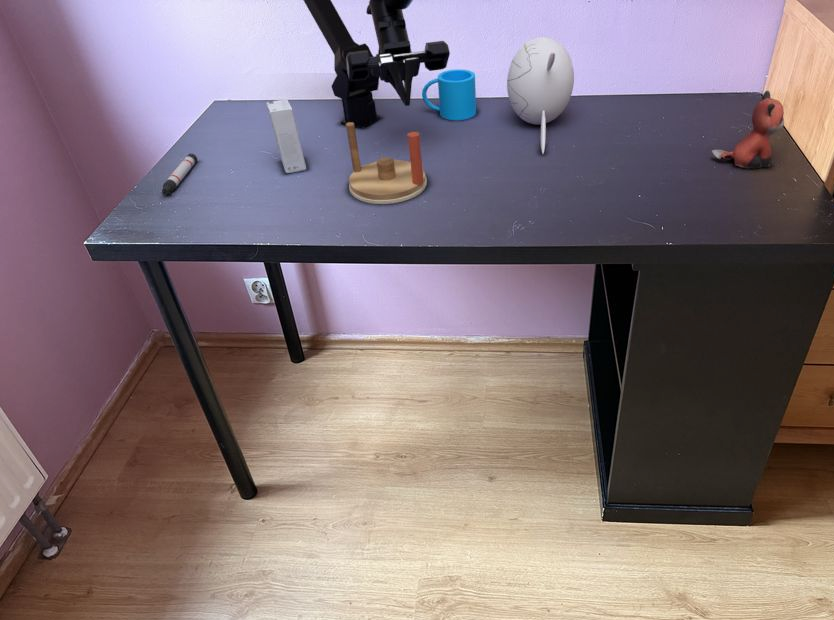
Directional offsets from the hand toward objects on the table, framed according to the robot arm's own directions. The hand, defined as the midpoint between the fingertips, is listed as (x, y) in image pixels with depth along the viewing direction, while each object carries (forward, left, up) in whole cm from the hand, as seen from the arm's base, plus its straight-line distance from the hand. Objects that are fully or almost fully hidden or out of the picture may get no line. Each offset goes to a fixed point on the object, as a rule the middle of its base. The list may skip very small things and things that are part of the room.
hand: (407, 104), depth 121 cm
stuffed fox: (+57, +26, -12) cm, 64 cm away
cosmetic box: (-21, -11, -12) cm, 27 cm away
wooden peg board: (+1, -10, -11) cm, 14 cm away
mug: (-6, +25, -12) cm, 29 cm away
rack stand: (+1, -10, -12) cm, 15 cm away
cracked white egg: (+16, +25, -12) cm, 32 cm away
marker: (-38, -25, -12) cm, 47 cm away
